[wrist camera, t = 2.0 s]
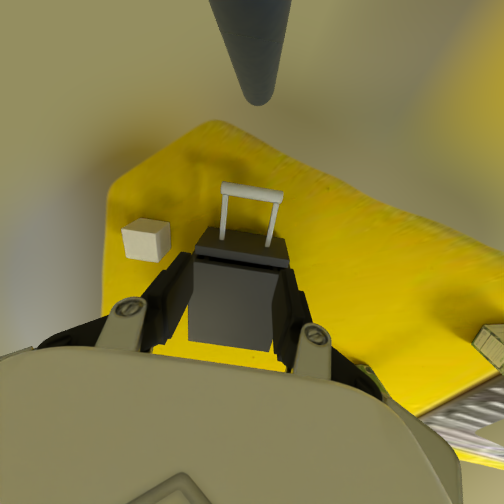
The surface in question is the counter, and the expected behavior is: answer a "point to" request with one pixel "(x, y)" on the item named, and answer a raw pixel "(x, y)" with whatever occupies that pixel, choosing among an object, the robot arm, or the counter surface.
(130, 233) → the block
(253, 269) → the dark grey drawer box
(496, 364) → the syrup box
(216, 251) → the dark grey drawer
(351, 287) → the counter surface
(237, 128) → the counter surface
